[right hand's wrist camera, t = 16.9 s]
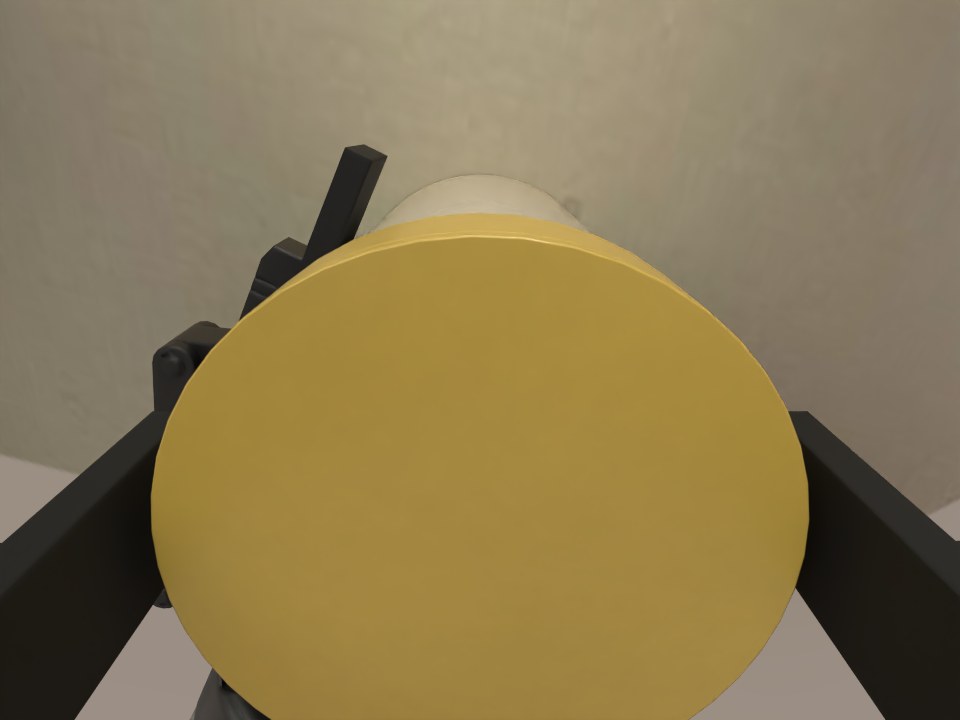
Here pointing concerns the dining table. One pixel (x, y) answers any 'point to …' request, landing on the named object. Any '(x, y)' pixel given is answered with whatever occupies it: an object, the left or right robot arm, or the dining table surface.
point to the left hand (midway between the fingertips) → (543, 239)
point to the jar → (479, 201)
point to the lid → (479, 486)
